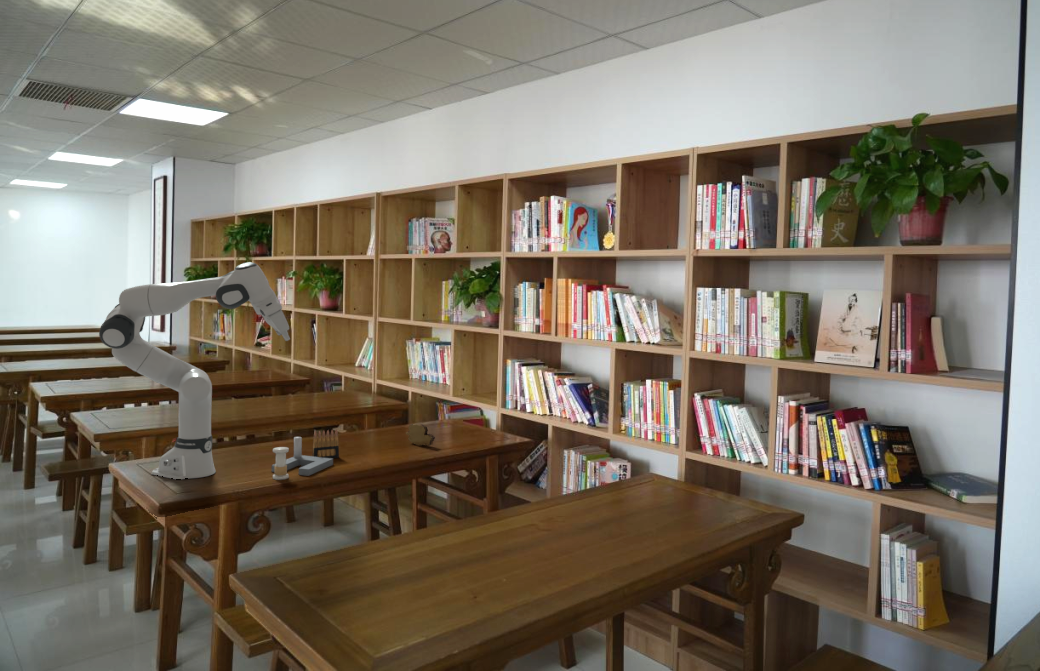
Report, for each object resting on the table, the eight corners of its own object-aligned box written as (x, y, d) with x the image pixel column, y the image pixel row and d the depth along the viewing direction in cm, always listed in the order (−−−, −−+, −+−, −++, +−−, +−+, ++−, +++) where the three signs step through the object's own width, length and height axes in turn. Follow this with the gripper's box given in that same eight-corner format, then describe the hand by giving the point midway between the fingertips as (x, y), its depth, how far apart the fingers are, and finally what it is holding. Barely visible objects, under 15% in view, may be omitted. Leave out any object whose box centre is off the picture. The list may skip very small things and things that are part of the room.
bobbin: (269, 478, 264) (269, 449, 263) (278, 475, 270) (278, 446, 269) (282, 480, 263) (283, 451, 262) (291, 476, 268) (291, 447, 267)
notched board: (271, 471, 274) (271, 444, 273) (297, 460, 291) (298, 435, 291) (308, 475, 270) (308, 448, 269) (332, 464, 287) (333, 438, 287)
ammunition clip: (313, 460, 293) (313, 431, 293) (312, 459, 295) (312, 430, 294) (339, 457, 299) (339, 429, 298) (337, 456, 301) (338, 428, 300)
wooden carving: (437, 446, 325) (437, 425, 324) (431, 448, 321) (431, 426, 320) (409, 441, 333) (409, 420, 332) (402, 443, 329) (403, 422, 328)
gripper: (251, 303, 261) (268, 335, 267) (265, 313, 245) (284, 347, 251) (266, 295, 264) (284, 327, 270) (282, 305, 247) (300, 338, 253)
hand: (284, 337), depth 260 cm, fingers open, 8 cm apart
